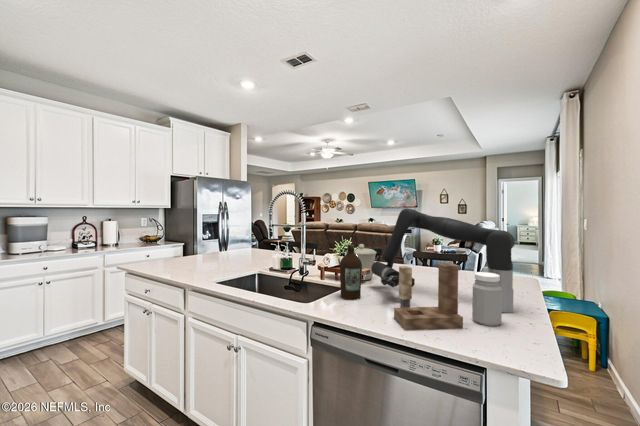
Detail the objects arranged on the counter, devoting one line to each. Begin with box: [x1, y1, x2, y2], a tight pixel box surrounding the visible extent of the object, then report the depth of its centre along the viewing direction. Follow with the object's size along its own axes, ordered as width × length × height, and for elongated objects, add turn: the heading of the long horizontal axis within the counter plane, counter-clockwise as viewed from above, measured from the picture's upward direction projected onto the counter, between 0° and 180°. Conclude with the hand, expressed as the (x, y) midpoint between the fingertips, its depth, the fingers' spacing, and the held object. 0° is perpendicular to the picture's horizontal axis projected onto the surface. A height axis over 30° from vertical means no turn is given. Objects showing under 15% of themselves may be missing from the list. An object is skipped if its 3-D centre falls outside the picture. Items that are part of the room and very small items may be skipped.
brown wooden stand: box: [393, 262, 464, 331], centre depth 114 cm, size 22×12×22 cm, turn 95°
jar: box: [471, 271, 503, 327], centre depth 116 cm, size 10×10×18 cm
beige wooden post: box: [398, 265, 413, 308], centre depth 129 cm, size 4×4×18 cm
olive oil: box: [339, 244, 362, 301], centre depth 148 cm, size 11×11×25 cm
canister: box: [354, 243, 377, 281], centre depth 187 cm, size 18×18×21 cm
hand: (403, 284), depth 132 cm, fingers open, 8 cm apart
